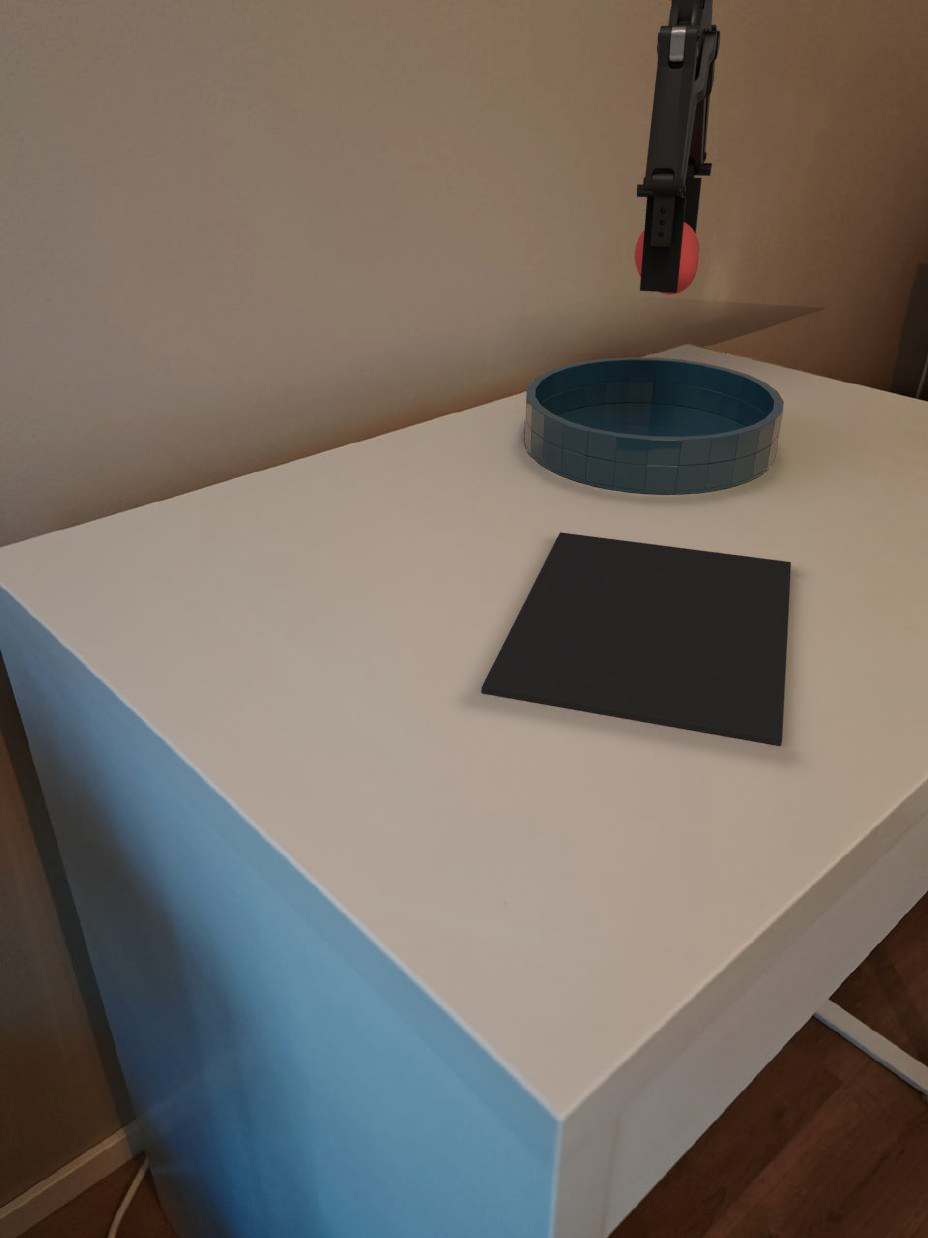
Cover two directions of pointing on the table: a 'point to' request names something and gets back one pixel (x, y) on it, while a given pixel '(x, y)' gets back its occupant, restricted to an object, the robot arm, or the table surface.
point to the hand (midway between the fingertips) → (667, 275)
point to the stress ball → (686, 262)
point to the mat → (653, 637)
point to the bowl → (652, 425)
